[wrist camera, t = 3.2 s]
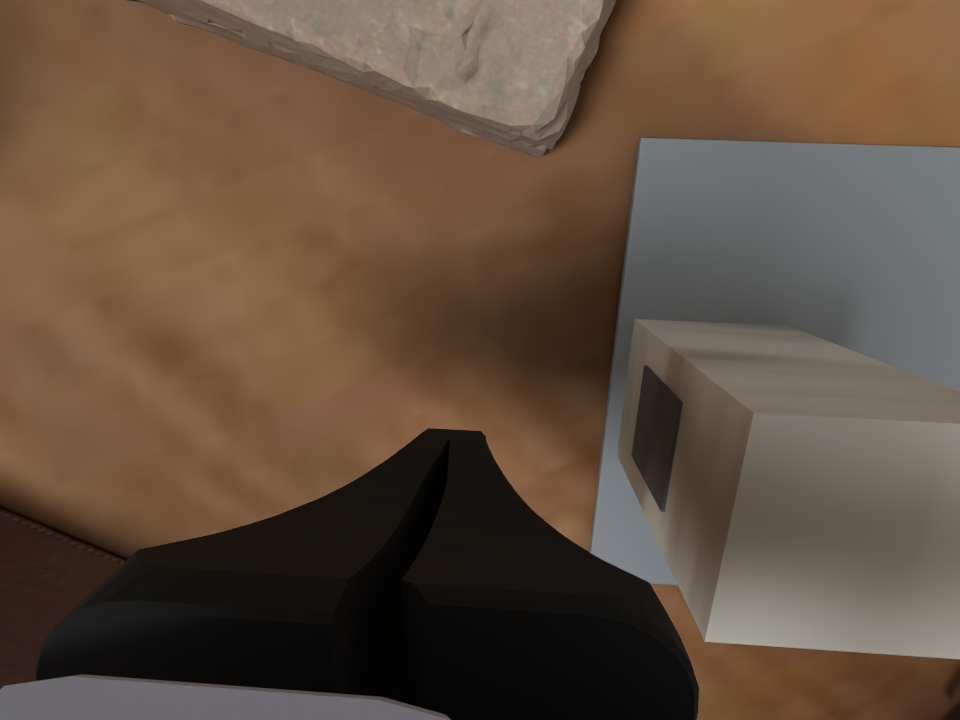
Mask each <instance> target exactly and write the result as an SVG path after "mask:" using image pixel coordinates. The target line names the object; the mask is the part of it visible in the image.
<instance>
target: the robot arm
mask: <svg viewBox="0 0 960 720" xmlns="http://www.w3.org/2000/svg"><path fill="white" fill-rule="evenodd" d="M35 670H36V681H34V682H27V683H20V684H13V685H7V686H3V687H2V688H1V689H0V720H696V719H697V714H698V698H699V687H698V684H697V681H696V678H695V675H694V671H693V668H692V665H691V662H690V660H689V657H688V655H687V652H686V650H685V648H684V645H683V643H682V641H681V639H680V636H679V634H678V632H677V631H676V629H675V627H674V625H673V623H672V621H671V620H670V618H669V616H668V614H667V612H666V611H665V609H664V607H663V605H662V604H661V602H660V600H659V599H658V597H657V595H656V593H655V592H654V590H653V588H652V587H651V585H650V583H649V582H647V581H645V580H643V579H641V578H639V577H637V576H635V575H633V574H631V573H629V572H627V571H624V570H622V569H620V568H618V567H616V566H614V565H612V564H610V563H608V562H606V561H604V560H602V559H600V558H598V557H596V556H595V555H593V554H591V553H590V552H588V551H587V550H585V549H583V548H582V547H580V546H578V545H577V544H575V543H574V542H572V541H571V540H569V539H568V538H566V537H565V536H563V535H562V534H561V533H559V532H558V531H557V530H555V529H554V528H553V527H552V526H550V525H549V524H548V523H547V522H545V521H544V520H543V519H542V518H541V517H539V516H538V515H537V514H536V513H535V512H534V511H533V510H532V509H531V508H530V507H529V506H528V505H527V504H526V503H525V502H524V501H523V500H522V498H521V497H520V496H519V495H518V494H517V492H516V491H515V490H514V488H513V487H512V486H511V484H510V483H509V482H508V480H507V479H506V477H505V476H504V474H503V473H502V471H501V470H500V468H499V466H498V465H497V463H496V461H495V459H494V458H493V456H492V454H491V451H490V449H489V447H488V445H487V442H486V436H485V435H484V434H483V433H482V432H481V431H467V430H448V429H430V428H428V429H427V430H425V431H424V432H423V433H421V434H420V435H419V436H418V437H416V438H415V439H414V440H412V441H411V442H410V443H409V444H407V445H406V446H405V447H403V448H402V449H401V450H399V451H398V452H397V453H395V454H394V455H393V456H391V457H390V458H389V459H387V460H386V461H384V462H383V463H381V464H380V465H378V466H377V467H375V468H374V469H372V470H371V471H369V472H367V473H366V474H364V475H363V476H361V477H360V478H358V479H356V480H355V481H353V482H351V483H349V484H347V485H346V486H344V487H342V488H340V489H338V490H336V491H334V492H332V493H330V494H328V495H326V496H324V497H321V498H319V499H317V500H315V501H312V502H310V503H307V504H304V505H302V506H299V507H297V508H294V509H292V510H289V511H287V512H284V513H282V514H279V515H276V516H274V517H271V518H268V519H264V520H261V521H258V522H255V523H252V524H249V525H245V526H241V527H238V528H234V529H231V530H227V531H224V532H220V533H216V534H212V535H208V536H203V537H198V538H193V539H189V540H184V541H179V542H174V543H170V544H165V545H160V546H155V547H150V548H144V549H139V550H138V551H137V552H135V553H134V554H133V555H132V556H131V557H130V558H129V559H128V560H127V561H125V562H124V563H123V564H122V565H121V566H120V567H119V568H118V569H117V570H115V571H114V572H113V573H112V574H111V575H110V576H109V577H108V578H107V579H106V580H104V581H103V582H102V583H101V584H100V585H99V586H98V587H97V588H96V589H95V590H93V591H92V592H91V593H90V594H89V595H88V596H87V597H86V598H85V599H84V600H82V601H81V602H80V603H79V604H78V605H77V606H76V607H75V608H74V609H73V610H71V611H70V612H69V613H68V614H67V615H66V616H65V617H64V618H63V619H62V620H60V621H59V622H58V623H57V624H56V625H55V626H54V627H53V629H52V630H51V632H50V633H49V635H48V636H47V637H46V639H45V640H44V642H43V643H42V645H41V647H40V651H39V656H38V660H37V664H36V669H35Z"/></svg>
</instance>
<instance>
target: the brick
mask: <svg viewBox="0 0 960 720" xmlns="http://www.w3.org/2000/svg"><path fill="white" fill-rule="evenodd" d="M138 1H141V2H144V3H146V4H148V5H150V6H152V7H154V8H155V9H158V10H160V11H162V12H165V13H167V14H168V15H169V16H171V17H172V18H173V19H174V20H175V21H177V22H179V23H182V24H186V25H191V26H196V27H200V28H202V29H204V30H207V31H210V32H212V33H215V34H217V35H220V36H222V37H225V38H227V39H229V40H232V41H234V42H237V43H239V44H240V45H242V46H244V47H248V48H251V49H255V50H259V51H262V52H264V53H267V54H270V55H272V56H276V57H279V58H281V59H284V60H286V61H289V62H292V63H295V64H297V65H300V66H303V67H306V68H308V69H311V70H314V71H317V72H321V73H324V74H326V75H329V76H331V77H333V78H335V79H337V80H339V81H342V82H345V83H350V84H353V85H355V86H357V87H360V88H362V89H364V90H367V91H369V92H371V93H373V94H376V95H378V96H381V97H385V98H388V99H390V100H393V101H396V102H398V103H400V104H403V105H405V106H408V107H410V108H413V109H415V110H417V111H420V112H422V113H424V114H427V115H429V116H431V117H433V118H435V119H437V120H439V121H442V122H444V123H446V124H447V125H449V126H451V127H453V128H455V129H457V130H459V131H461V132H464V133H467V134H470V135H473V136H476V137H480V138H483V139H487V140H490V141H493V142H496V143H499V144H502V145H505V146H507V147H510V148H513V149H516V150H519V151H522V152H525V153H527V154H530V155H538V156H542V155H544V153H545V152H546V150H547V149H553V147H554V146H555V143H556V141H557V140H558V139H559V138H560V137H561V136H562V134H563V132H564V130H565V128H566V126H567V123H568V121H569V119H570V117H571V114H572V112H573V109H574V106H575V104H576V101H577V97H578V94H579V90H580V82H581V81H582V79H583V76H584V73H585V70H586V69H587V68H588V67H589V65H590V64H591V62H592V60H593V58H594V57H595V55H596V53H597V51H598V47H599V39H600V34H601V32H602V30H603V28H604V26H605V24H606V22H607V20H608V19H609V17H610V14H611V12H612V10H613V7H614V5H615V3H616V0H138Z"/></svg>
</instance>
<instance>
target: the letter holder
mask: <svg viewBox="0 0 960 720" xmlns="http://www.w3.org/2000/svg"><path fill="white" fill-rule="evenodd" d="M125 561H127V560H125V559H123V558H120V557H117V556H115V555H112V554H110V553H108V552H106V551H103V550H100V549H98V548H96V547H94V546H91V545H89V544H87V543H85V542H82V541H79V540H77V539H75V538H73V537H70V536H67V535H66V534H64V533H60V532H57V531H55V530H53V529H51V528H48V527H46V526H43V525H41V524H38V523H37V522H34V521H31V520H29V519H26V518H23V517H21V516H18V515H16V514H14V513H11V512H9V511H6V510H4V509H2V508H0V689H1V688H2V687H3V686H7V685H13V684H20V683H27V682H34V681H36V670H35V669H36V664H37V660H38V656H39V651H40V647H41V645H42V643H43V642H44V640H45V639H46V637H47V636H48V635H49V633H50V632H51V630H52V629H53V627H54V626H55V625H56V624H57V623H58V622H59V621H60V620H62V619H63V618H64V617H65V616H66V615H67V614H68V613H69V612H70V611H71V610H73V609H74V608H75V607H76V606H77V605H78V604H79V603H80V602H81V601H82V600H84V599H85V598H86V597H87V596H88V595H89V594H90V593H91V592H92V591H93V590H95V589H96V588H97V587H98V586H99V585H100V584H101V583H102V582H103V581H104V580H106V579H107V578H108V577H109V576H110V575H111V574H112V573H113V572H114V571H115V570H117V569H118V568H119V567H120V566H121V565H122V564H123V563H124V562H125Z"/></svg>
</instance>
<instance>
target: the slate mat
mask: <svg viewBox="0 0 960 720" xmlns="http://www.w3.org/2000/svg"><path fill="white" fill-rule="evenodd" d="M634 319H647V320H669V321H691V322H714V323H736V324H758V325H781V326H790V327H793V328H795V329H798V330H800V331H803V332H806V333H808V334H811V335H813V336H816V337H819V338H821V339H824V340H826V341H829V342H832V343H834V344H837V345H839V346H842V347H845V348H847V349H850V350H852V351H855V352H858V353H860V354H863V355H865V356H868V357H871V358H873V359H876V360H878V361H881V362H884V363H886V364H889V365H892V366H894V367H897V368H899V369H902V370H905V371H907V372H910V373H912V374H915V375H918V376H920V377H923V378H925V379H928V380H931V381H933V382H936V383H938V384H941V385H944V386H946V387H949V388H951V389H954V390H957V391H959V392H960V148H952V147H920V146H887V145H855V144H822V143H790V142H757V141H725V140H692V139H660V138H640V139H638V147H637V155H636V164H635V172H634V180H633V189H632V197H631V205H630V214H629V222H628V230H627V239H626V247H625V255H624V264H623V272H622V281H621V289H620V297H619V306H618V314H617V322H616V331H615V339H614V347H613V356H612V364H611V373H610V381H609V389H608V398H607V406H606V414H605V423H604V431H603V439H602V448H601V456H600V464H599V473H598V481H597V490H596V498H595V506H594V515H593V523H592V531H591V540H590V548H589V552H590V553H591V554H593V555H595V556H596V557H598V558H600V559H602V560H604V561H606V562H608V563H610V564H612V565H614V566H616V567H618V568H620V569H622V570H624V571H627V572H629V573H631V574H633V575H635V576H637V577H639V578H641V579H643V580H645V581H647V582H649V583H652V584H667V585H678V584H677V582H676V580H675V578H674V575H673V573H672V571H671V569H670V567H669V565H668V563H667V561H666V558H665V556H664V554H663V552H662V550H661V548H660V546H659V544H658V541H657V539H656V537H655V535H654V533H653V531H652V529H651V526H650V524H649V522H648V520H647V518H646V516H645V514H644V512H643V509H642V507H641V505H640V503H639V501H638V499H637V497H636V495H635V492H634V490H633V488H632V486H631V484H630V482H629V480H628V478H627V475H626V473H625V471H624V469H623V467H622V465H621V463H620V460H619V458H618V456H617V449H618V441H619V433H620V426H621V418H622V410H623V403H624V395H625V387H626V380H627V372H628V364H629V357H630V349H631V341H632V334H633V326H634Z"/></svg>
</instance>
